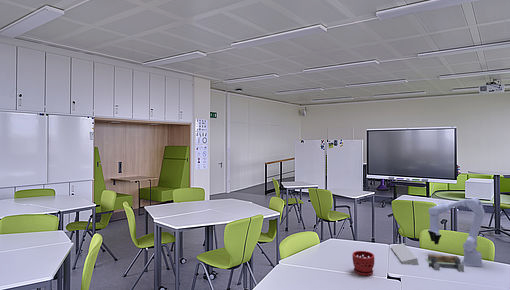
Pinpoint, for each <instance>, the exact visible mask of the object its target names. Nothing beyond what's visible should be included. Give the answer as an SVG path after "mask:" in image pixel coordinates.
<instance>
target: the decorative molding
mask: <svg viewBox="0 0 510 290" xmlns="http://www.w3.org/2000/svg"><path fill="white" fill-rule="evenodd" d="M390 248H391V250H392V251H393V252H394V254H395V255H396V256H397V259H399V261H400V262H401V263H402V265H414V266H415V265H416V266H419V265H420V263H419V261H418V258H417V256H415V255H414V253H413V252H412V251H411V250H410V249H409V248H408V247H407V245H406V244H405V243H399V244H398V243H397V244H394V245H390Z"/></svg>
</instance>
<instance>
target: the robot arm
mask: <svg viewBox="0 0 510 290" xmlns="http://www.w3.org/2000/svg"><path fill="white" fill-rule="evenodd" d="M457 207H464V208H466V207H467V208H468V209H469V210H471V211H472V212H473V214H474V218H473V220H472V224H471V226H470V229H469V233H468V236H467V237H466V241H464V242H463V243H462V244H463V245H462V248H463V260H461V263H462V264H464V266H466V265H467V267H480V266H482V267H483V261H482V257H483V256H482V253H481V251H478V250H477V248H478V236H479V234H480V230H481V227H482V223H483V222H484V218H485V214H486V213H485V210H484V206H483V203H482V201H481V200H480V199H479V198H478V197H471V198H464V199H460V200H457V201H454V202H451V203H446V202H442V203H441V204H438V205H437V204H435V205H434V206H432V207H429V208H428V211H427V212H428V214H429V228H428V229H427V232H428V235H429V237H430V241H431V242H433V243H434V245H439V243H440V239H441V237H442V234H440V221H439V220H440V218H439V217H440V216H439V214H443V213H448V212H450V211H451V209H453V208H457Z"/></svg>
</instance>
